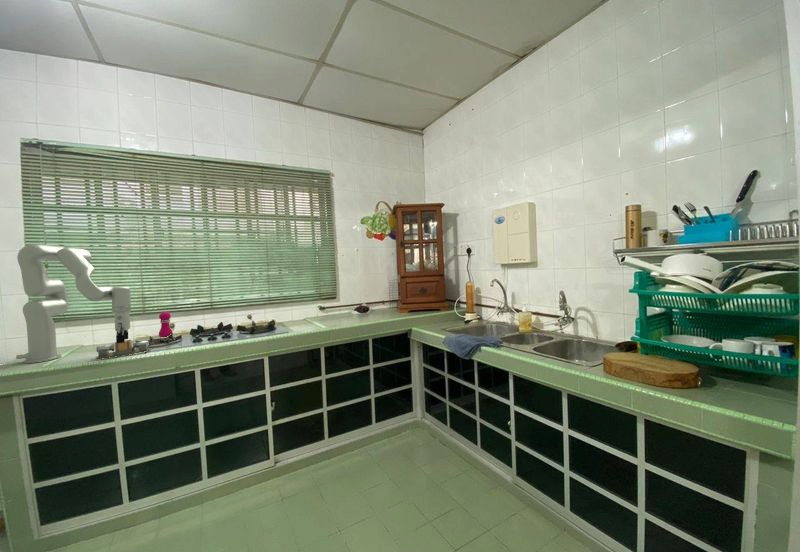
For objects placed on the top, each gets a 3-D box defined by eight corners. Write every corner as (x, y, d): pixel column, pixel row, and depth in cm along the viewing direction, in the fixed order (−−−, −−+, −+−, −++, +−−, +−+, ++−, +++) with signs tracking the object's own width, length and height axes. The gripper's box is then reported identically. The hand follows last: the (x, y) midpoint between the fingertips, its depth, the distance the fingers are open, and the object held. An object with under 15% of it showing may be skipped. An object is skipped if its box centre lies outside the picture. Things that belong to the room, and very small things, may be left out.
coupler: (131, 350, 167) (131, 339, 167) (130, 352, 164) (129, 340, 163) (117, 352, 164) (116, 341, 164) (115, 354, 160) (114, 342, 160)
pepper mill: (168, 341, 192) (166, 310, 192) (156, 342, 192) (154, 310, 191) (175, 339, 199) (174, 308, 199) (164, 339, 199) (162, 309, 198)
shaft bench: (94, 360, 154) (94, 347, 154) (100, 355, 162) (99, 344, 162) (147, 353, 165) (147, 341, 165) (150, 349, 174) (149, 338, 174)
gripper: (127, 310, 158) (128, 343, 158) (133, 307, 173) (134, 337, 173) (108, 311, 154) (109, 345, 154) (115, 308, 168) (116, 339, 169)
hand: (122, 341), depth 164 cm, fingers open, 9 cm apart
